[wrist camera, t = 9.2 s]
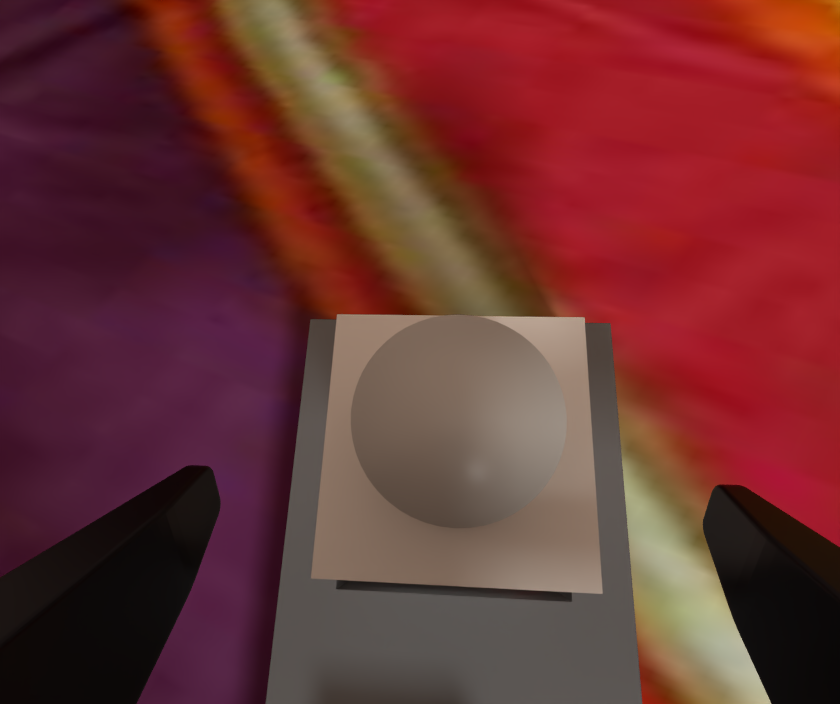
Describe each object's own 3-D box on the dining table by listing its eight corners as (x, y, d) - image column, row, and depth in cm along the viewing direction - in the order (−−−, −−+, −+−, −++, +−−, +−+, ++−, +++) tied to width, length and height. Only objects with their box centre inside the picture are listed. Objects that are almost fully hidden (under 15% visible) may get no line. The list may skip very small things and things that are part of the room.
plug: (513, 546, 17) (661, 626, 5) (395, 540, 17) (256, 602, 5) (511, 427, 18) (625, 255, 6) (401, 423, 18) (301, 254, 6)
